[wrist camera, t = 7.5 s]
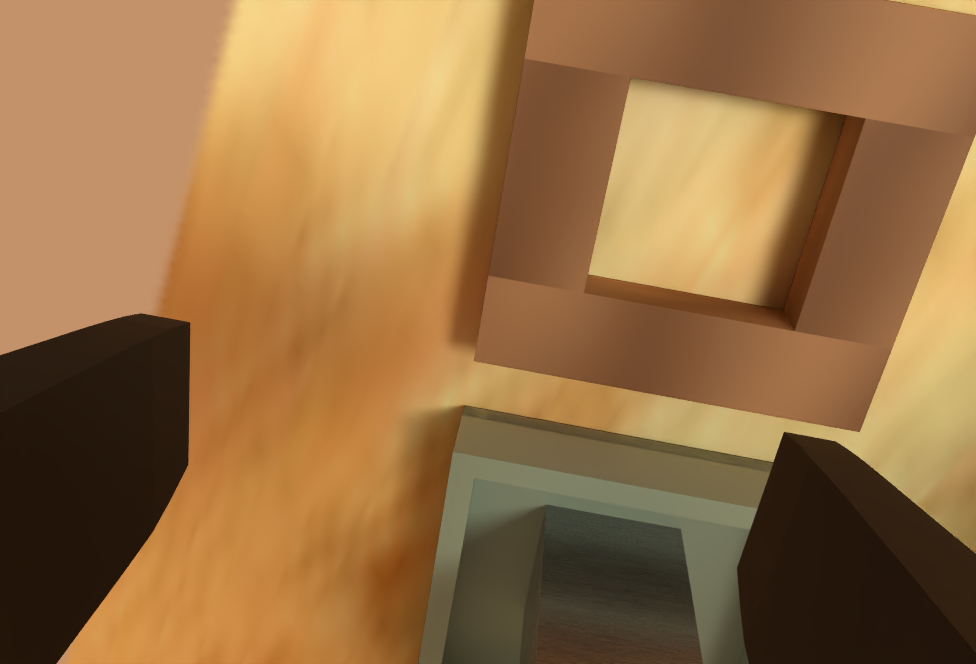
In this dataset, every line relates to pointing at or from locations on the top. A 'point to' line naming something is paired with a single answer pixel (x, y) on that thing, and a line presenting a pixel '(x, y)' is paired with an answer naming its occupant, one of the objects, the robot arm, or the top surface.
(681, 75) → the collar
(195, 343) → the top surface
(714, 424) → the top surface
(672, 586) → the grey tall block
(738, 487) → the tray
